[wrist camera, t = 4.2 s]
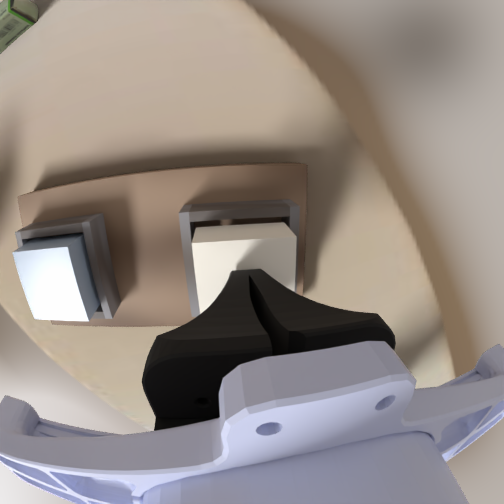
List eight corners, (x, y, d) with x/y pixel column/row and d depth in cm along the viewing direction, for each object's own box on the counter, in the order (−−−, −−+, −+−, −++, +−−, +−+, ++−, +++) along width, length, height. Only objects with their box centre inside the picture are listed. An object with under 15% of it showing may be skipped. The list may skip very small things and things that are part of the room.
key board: (294, 301, 20) (309, 333, 17) (62, 311, 19) (41, 339, 15) (297, 162, 17) (319, 167, 13) (33, 191, 15) (0, 203, 11)
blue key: (102, 300, 15) (89, 321, 13) (50, 300, 15) (34, 318, 13) (86, 232, 14) (67, 246, 12) (33, 238, 13) (12, 252, 11)
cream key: (282, 298, 16) (292, 322, 13) (204, 304, 15) (202, 330, 13) (284, 222, 14) (296, 236, 12) (195, 227, 14) (191, 243, 11)
